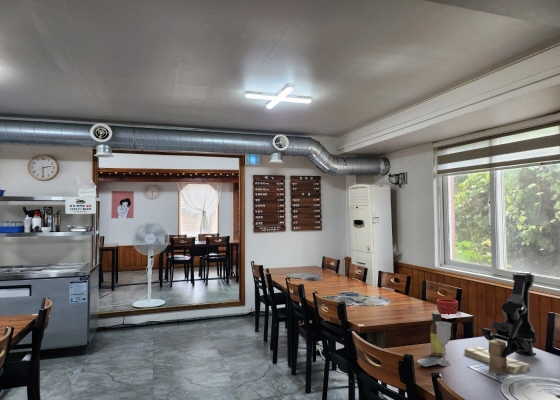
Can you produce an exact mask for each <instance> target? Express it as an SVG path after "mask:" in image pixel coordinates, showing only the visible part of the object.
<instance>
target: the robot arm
mask: <svg viewBox="0 0 560 400" xmlns="http://www.w3.org/2000/svg"><path fill="white" fill-rule="evenodd" d="M512 281H513V286H512V292H511V295H510V296H509V297H507V300H506V302H505V303H504V304H502V305H501V310H502V313H503V316H504V318H505V319H504V321H503V322H500V321H497V320H492V324H491V329H490V328H486V327H483V328H481V330H480V333H481V335H483V337H484V338H485V339H486V340H487V341H488V342H489V341H490V340H500V341H503V342H506V348H505V350H504V352H503V354H502V358H505V357H507V356H508V357H509V356H510V355H512V354H513V353H518V354H520V355H524V356H526V357H529V356H535V355H537V353H536V352H534V349H533V344H536V343H537V342H538V340H537V339H538V338H537V334H536V332H535V330H534V325H532V323H531V322H530V321H531V320H530V290H531V289H532V287H533V285H534V282H535V275H534V274H532V272H528V271H527V272H526V271H516V273H512ZM492 329H494V330H495V332H494V331H493V330H492ZM488 352H489V351H488Z"/></svg>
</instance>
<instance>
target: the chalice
mask: <svg viewBox="0 0 560 400" xmlns="http://www.w3.org/2000/svg"><path fill="white" fill-rule="evenodd" d="M436 325H437V336H438V338H439V341H440V343H441V344H443V348H442V349H443V352H442V353H443V357H440V359H439V361H440V362H441V363H440V364H439V365H440V366H442V367H450V366H451V362H450V361H449V359H448V358H447V357H446V356H447V355H446V354H447V352H446V349H447V348H446V345H448V343H449V341H450V339H451V335H452V334H451V333H452V331H451V327H452V323H451V322H448V321H441V322H436Z"/></svg>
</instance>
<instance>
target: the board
mask: <svg viewBox="0 0 560 400" xmlns="http://www.w3.org/2000/svg"><path fill="white" fill-rule="evenodd" d="M488 351H489V348H488V349H487V348H485V347H482V346H475V347H469V348H464V355H465V356H468V357H471V358H473V359H475V360H478V361H480V362H483V363H486V364H488V365H489V364H490V354H489V352H488ZM506 358H507V366H508V367H510V373H511V374H519V373H522V372H523V373H524V372H527V371H530V370H531V369H530V368H531V367H530V366H531V364H530V363H527V362H524V361H521V360H518V359H515V358H512V357H510V356H509V355H508V356H507V357H506Z"/></svg>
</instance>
